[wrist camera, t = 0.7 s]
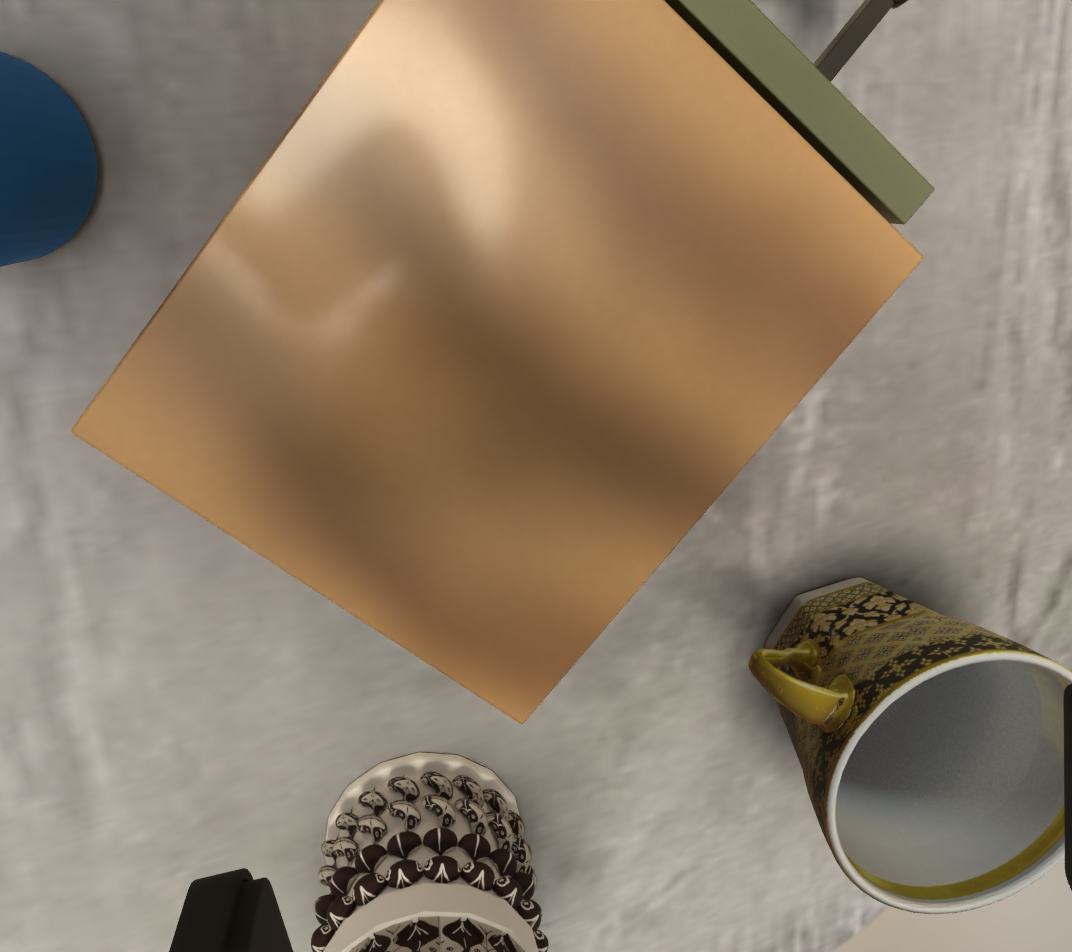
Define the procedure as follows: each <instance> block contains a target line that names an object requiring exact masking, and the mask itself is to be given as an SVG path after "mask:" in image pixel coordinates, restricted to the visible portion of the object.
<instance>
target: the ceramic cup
mask: <svg viewBox="0 0 1072 952" xmlns="http://www.w3.org/2000/svg"><path fill="white" fill-rule="evenodd" d="M749 667H750V670H751V672H752V673H753V675H754V676H755V677H756V678H757V680H758V681H759V682H760V683H761V684H762V685H763V687H764V688H765V689H766V690H767V691H768V692H769V693H770V694H771V695H772V696H773V697H774V698H775V699H776V702H777V704H778V707H779V709H780V713H781V715H782V718H783V720H784V722H785V725H786V727H787V729H788V732H789V735H790V737H791V740H792V743H793V745H794V748H795V751H796V753H797V756H798V758H799V761H800V764H801V766H802V768H803V773H804V777H805V782H806V786H807V790H808V794H809V796H810V799H811V802H812V805H813V808H814V810H815V813H816V816H817V819H818V821H819V824H820V827H821V829H822V832H823V834H824V836H825V838H826V840H827V843H828V845H829V847H830V849H831V851H832V853H833V855H834V857H835V859H836V861H837V863H838V865H839V866H840V868H841V869H842V871H843V872H844V873H845V875H846V876H847V877H848V878H849V879H850V881H851V882H853V883H854V884H855V885H856V886H857V887H858V888H859V889H860V890H862V891H863V892H865V893H866V894H868V895H869V896H871V897H872V898H874V899H875V900H877V901H879V902H881V903H884V904H886V905H888V906H891V907H894V908H897V909H901V910H906V911H910V912H914V913H924V914H945V913H957V912H963V911H968V910H973V909H977V908H980V907H983V906H986V905H989V904H992V903H995V902H998V901H1000V900H1003V899H1005V898H1006V897H1009V896H1011V895H1013V894H1015V893H1017V892H1019V891H1020V890H1022V889H1024V888H1025V887H1027V886H1029V885H1030V884H1032V883H1033V882H1035V881H1036V880H1038V879H1039V878H1041V877H1042V876H1043V875H1044V874H1045V873H1047V872H1048V871H1049V870H1050V869H1052V868H1053V867H1054V866H1055V865H1056V864H1057V863H1059V861H1061V860H1062V859H1063V858H1064V857H1065V824H1064V707H1063V697H1064V690H1065V688H1066V686H1068V685H1069V684H1072V671H1070V670H1069V669H1067V668H1066V667H1064V666H1062V665H1061V664H1059V663H1057V662H1055V661H1053V660H1051V659H1049V658H1047V657H1045V656H1043V655H1041V654H1039V653H1037V652H1035V651H1033V650H1031V649H1029V648H1027V647H1025V646H1023V645H1021V644H1019V643H1016V642H1014V641H1012V640H1009V639H1007V638H1005V637H1002V636H1000V635H998V634H996V633H993V632H991V631H989V630H986V629H984V628H982V627H979V626H976V625H973V624H970V623H967V622H964V621H962V620H959V619H956V618H952V617H949V616H946V615H942V614H939V613H937V612H935V611H932V610H930V609H928V608H926V607H924V606H921V605H919V604H917V603H915V602H913V601H911V600H908V599H906V598H904V597H902V596H900V595H898V594H896V593H893V592H891V591H889V590H887V589H885V588H883V587H881V586H879V585H877V584H875V583H872V582H870V581H868V580H866V579H863V578H860V577H858V578H851V579H848V580H844V581H841V582H838V583H835V584H832V585H828V586H825V587H822V588H819V589H815V590H812V591H809V592H806V593H803V594H800V595H797V596H796V597H795V598H794V599H793V600H792V602H791V603H790V605H789V606H788V608H787V609H786V611H785V613H784V614H783V616H782V617H781V619H780V620H779V622H778V623H777V625H776V626H775V628H774V629H773V631H772V632H771V634H770V635H769V637H768V638H767V640H766V642H765V649H759V650H757V651H755V653H754V654H753V655H752V656H751V658H750V662H749Z"/></svg>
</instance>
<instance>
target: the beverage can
mask: <svg viewBox="0 0 1072 952" xmlns="http://www.w3.org/2000/svg"><path fill="white" fill-rule="evenodd" d="M96 184H97V161H96V154H95V148H94V145H93V142H92V138H91V135H90V133H89V130H88V128H87V126H86V123H85V121H84V119H83V117H82V116H81V114H80V112H79V111H78V109H77V107H76V106H75V105H74V103H73V102H72V101H71V99H70V98H69V96H68V95H67V94H66V93H65V92H64V91H63V90H62V89H61V88H60V87H59V86H58V85H57V84H56V83H55V82H54V81H53V80H52V79H50V78H49V77H48V76H47V75H46V74H44V73H43V72H41V71H40V70H38V69H37V68H36V67H34V66H33V65H31V64H29V63H27V62H25V61H23V60H21V59H19V58H17V57H14V56H11V55H9V54H6V53H3V52H0V266H5V265H10V264H15V263H20V262H24V261H29V260H32V259H36V258H39V257H42V256H44V255H46V254H48V253H50V252H52V251H54V250H55V249H57V248H58V247H60V246H61V245H63V244H64V243H65V242H66V241H68V240H69V239H70V238H71V237H72V236H73V235H74V234H75V233H76V231H77V230H78V229H79V228H80V226H81V225H82V223H83V222H84V220H85V218H86V217H87V215H88V213H89V210H90V208H91V205H92V203H93V199H94V195H95V191H96Z"/></svg>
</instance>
